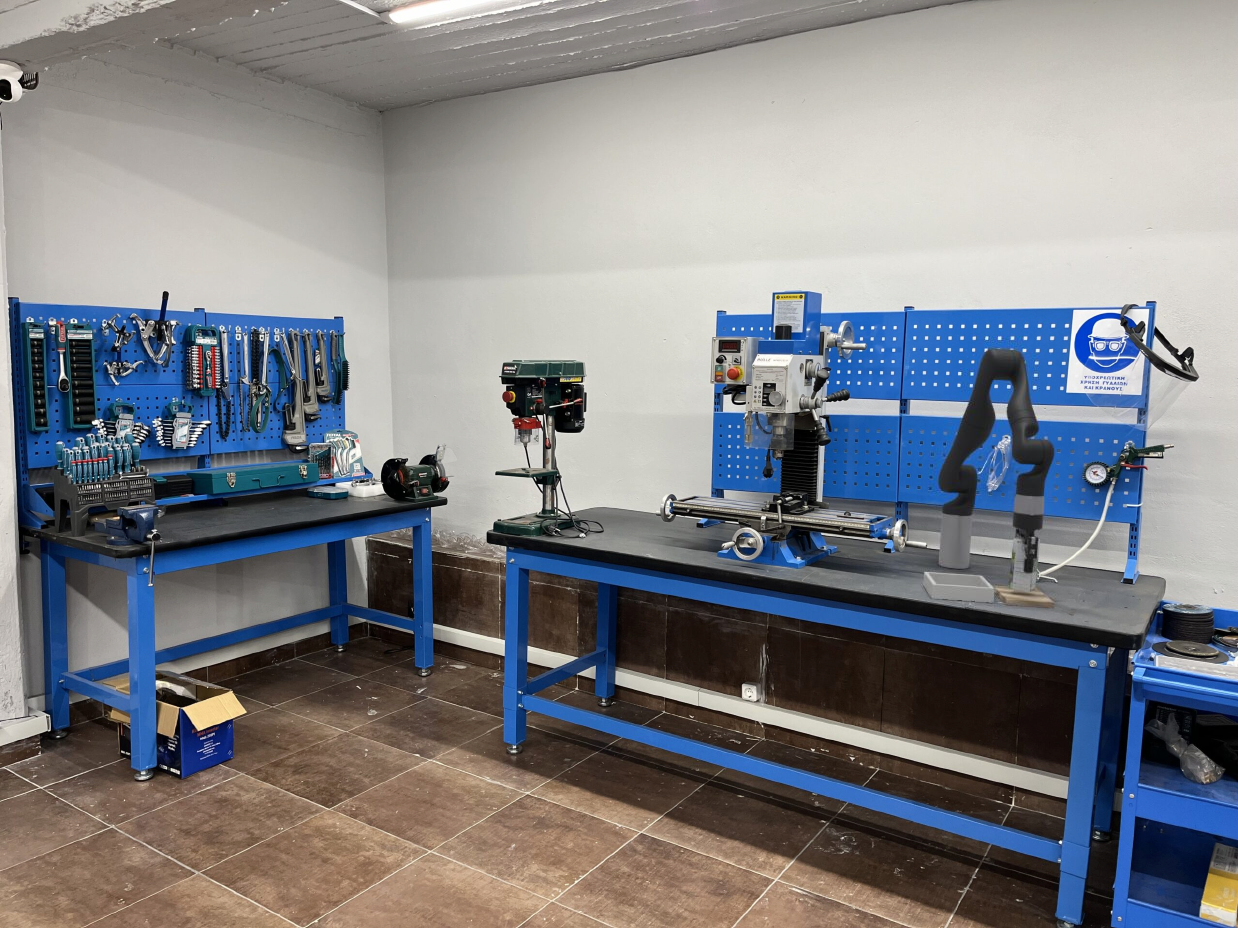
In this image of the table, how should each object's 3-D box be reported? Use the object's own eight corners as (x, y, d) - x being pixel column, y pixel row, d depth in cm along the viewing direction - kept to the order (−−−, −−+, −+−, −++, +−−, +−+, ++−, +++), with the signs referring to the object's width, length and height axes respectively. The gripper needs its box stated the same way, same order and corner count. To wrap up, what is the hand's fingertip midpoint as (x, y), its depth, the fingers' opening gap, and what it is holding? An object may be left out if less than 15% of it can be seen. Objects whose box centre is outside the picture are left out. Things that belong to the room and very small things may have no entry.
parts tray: (923, 585, 257) (924, 571, 256) (980, 589, 254) (981, 575, 254) (932, 598, 241) (933, 584, 241) (993, 602, 238) (994, 588, 238)
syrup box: (1014, 585, 247) (1018, 534, 246) (1036, 589, 244) (1040, 537, 242) (1008, 588, 243) (1012, 537, 241) (1031, 592, 239) (1035, 540, 238)
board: (992, 590, 252) (992, 585, 252) (1036, 593, 250) (1037, 588, 250) (1006, 604, 237) (1006, 599, 237) (1053, 608, 235) (1054, 602, 234)
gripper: (1007, 506, 249) (1003, 563, 250) (1020, 514, 235) (1016, 574, 236) (1035, 508, 247) (1031, 564, 249) (1050, 515, 233) (1046, 576, 235)
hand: (1024, 569), depth 243 cm, fingers closed on syrup box, 7 cm apart
